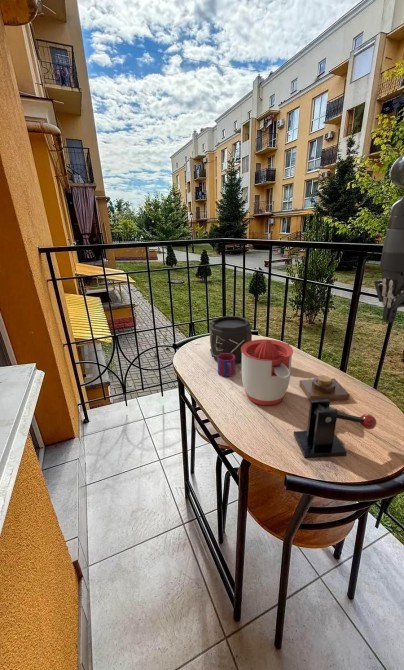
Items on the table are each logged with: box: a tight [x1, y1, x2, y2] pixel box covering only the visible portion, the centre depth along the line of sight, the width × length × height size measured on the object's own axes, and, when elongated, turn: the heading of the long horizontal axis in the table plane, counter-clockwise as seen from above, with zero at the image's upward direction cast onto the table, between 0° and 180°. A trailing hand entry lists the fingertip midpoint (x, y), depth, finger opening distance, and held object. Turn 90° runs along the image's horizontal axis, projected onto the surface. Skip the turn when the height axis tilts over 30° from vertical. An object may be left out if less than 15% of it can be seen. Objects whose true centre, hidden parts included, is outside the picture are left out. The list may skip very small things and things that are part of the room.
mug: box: [217, 353, 236, 378], centre depth 105 cm, size 7×10×7 cm
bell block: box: [299, 376, 350, 402], centre depth 91 cm, size 12×10×4 cm
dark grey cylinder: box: [208, 315, 253, 365], centre depth 118 cm, size 18×18×16 cm
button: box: [317, 374, 332, 386], centre depth 91 cm, size 4×4×2 cm
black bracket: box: [293, 399, 348, 459], centre depth 68 cm, size 10×8×12 cm
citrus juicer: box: [241, 338, 294, 406], centre depth 87 cm, size 16×17×20 cm
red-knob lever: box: [314, 404, 377, 430], centre depth 68 cm, size 15×4×4 cm, turn 91°
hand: (387, 321), depth 70 cm, fingers closed
